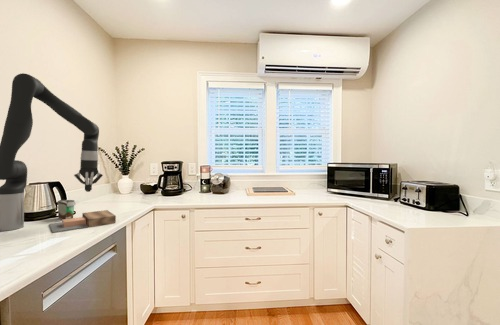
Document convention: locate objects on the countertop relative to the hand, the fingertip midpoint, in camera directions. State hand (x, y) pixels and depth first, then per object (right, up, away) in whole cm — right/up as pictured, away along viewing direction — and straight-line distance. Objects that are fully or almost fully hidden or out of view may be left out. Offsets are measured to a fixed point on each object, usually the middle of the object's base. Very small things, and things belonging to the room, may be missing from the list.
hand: (88, 191), depth 123 cm
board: (+3, -17, +3) cm, 18 cm away
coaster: (-4, -17, -4) cm, 18 cm away
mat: (-6, -17, -6) cm, 19 cm away
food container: (-18, -17, +9) cm, 26 cm away
